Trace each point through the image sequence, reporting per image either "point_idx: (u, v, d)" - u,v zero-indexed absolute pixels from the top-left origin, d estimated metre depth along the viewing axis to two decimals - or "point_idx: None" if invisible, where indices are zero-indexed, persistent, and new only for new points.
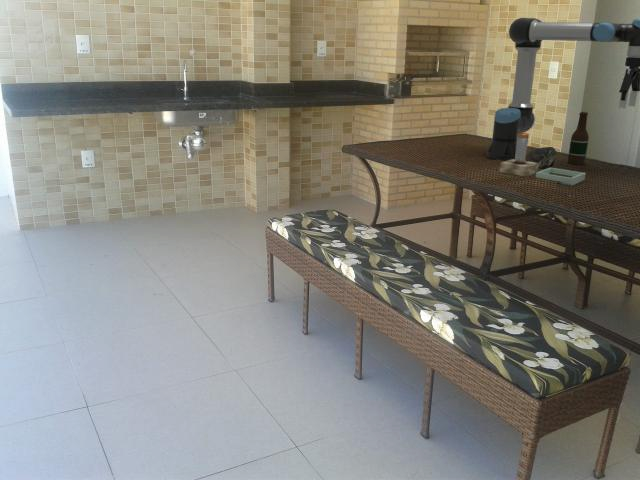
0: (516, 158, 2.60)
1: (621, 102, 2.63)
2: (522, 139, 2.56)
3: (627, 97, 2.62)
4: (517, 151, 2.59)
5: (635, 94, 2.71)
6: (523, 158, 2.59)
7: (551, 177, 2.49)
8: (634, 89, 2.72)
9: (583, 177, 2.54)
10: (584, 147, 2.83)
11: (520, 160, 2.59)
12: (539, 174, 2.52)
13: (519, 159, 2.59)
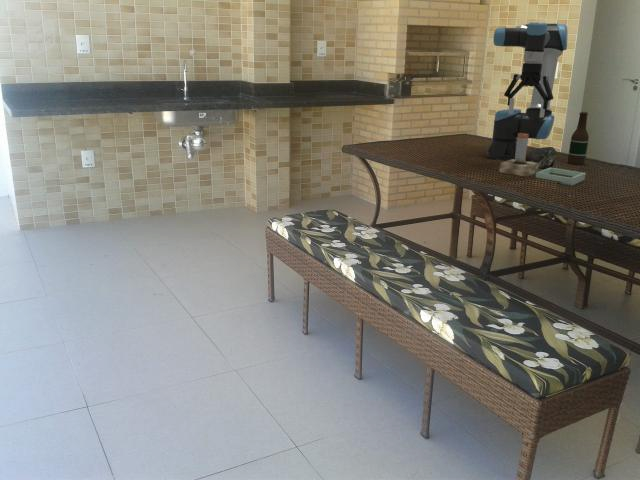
0: (516, 158, 2.60)
1: None
2: (522, 139, 2.56)
3: (510, 102, 2.57)
4: (517, 151, 2.59)
5: None
6: (523, 158, 2.59)
7: (551, 177, 2.49)
8: None
9: (583, 177, 2.54)
10: (584, 147, 2.83)
11: (520, 160, 2.59)
12: (539, 174, 2.52)
13: (519, 159, 2.59)
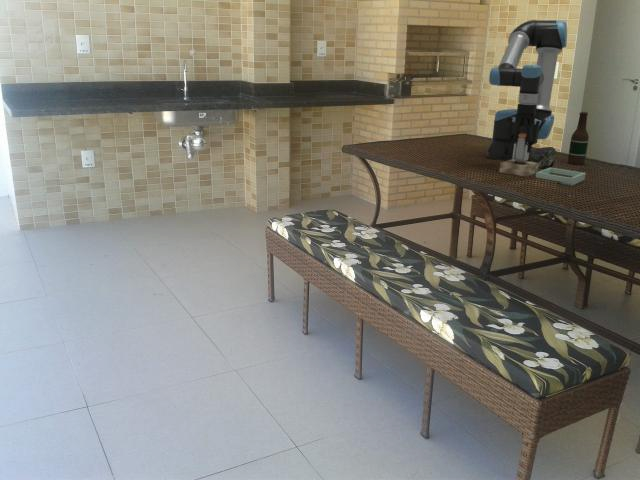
0: (516, 158, 2.60)
1: None
2: (522, 139, 2.56)
3: (514, 147, 2.60)
4: (517, 151, 2.59)
5: None
6: (523, 158, 2.59)
7: (551, 177, 2.49)
8: None
9: (583, 177, 2.54)
10: (584, 147, 2.83)
11: (520, 160, 2.59)
12: (539, 174, 2.52)
13: (519, 159, 2.59)
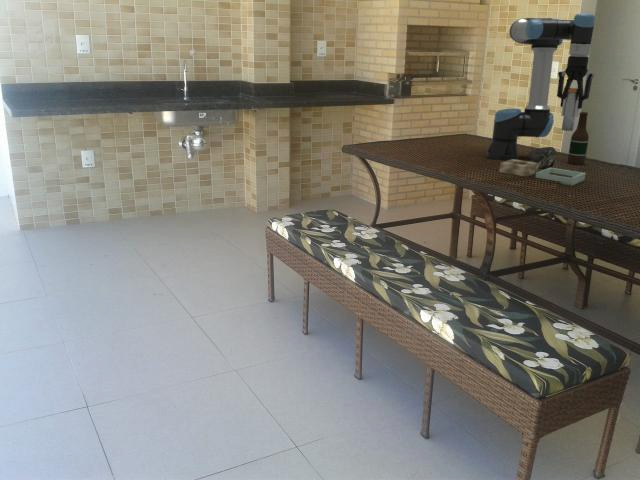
0: (565, 115, 2.45)
1: None
2: (573, 94, 2.41)
3: (563, 104, 2.45)
4: (567, 107, 2.44)
5: None
6: (573, 115, 2.44)
7: (551, 177, 2.49)
8: None
9: (583, 177, 2.54)
10: (584, 147, 2.83)
11: (570, 116, 2.44)
12: (539, 174, 2.52)
13: (568, 115, 2.44)
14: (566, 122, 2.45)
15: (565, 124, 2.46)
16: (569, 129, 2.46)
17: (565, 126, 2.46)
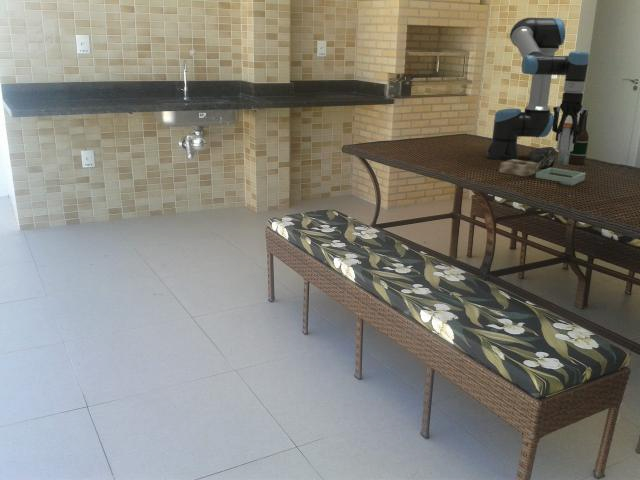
0: (560, 149, 2.49)
1: None
2: (568, 129, 2.46)
3: (559, 138, 2.50)
4: (562, 142, 2.48)
5: None
6: (568, 149, 2.48)
7: (551, 177, 2.49)
8: None
9: (583, 177, 2.54)
10: (584, 147, 2.83)
11: (565, 151, 2.48)
12: (539, 174, 2.52)
13: (563, 150, 2.49)
14: (561, 156, 2.50)
15: (560, 158, 2.50)
16: (564, 163, 2.50)
17: (560, 160, 2.50)
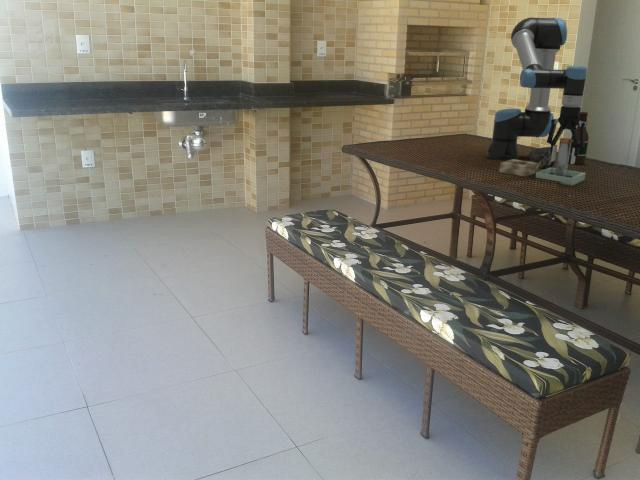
0: (558, 164, 2.51)
1: None
2: (565, 144, 2.47)
3: (553, 150, 2.52)
4: (559, 157, 2.50)
5: None
6: (565, 164, 2.50)
7: (551, 177, 2.49)
8: None
9: (583, 177, 2.54)
10: (584, 147, 2.83)
11: (563, 166, 2.50)
12: (539, 174, 2.52)
13: (561, 165, 2.51)
14: (559, 171, 2.52)
15: (558, 173, 2.52)
16: None
17: (558, 175, 2.52)
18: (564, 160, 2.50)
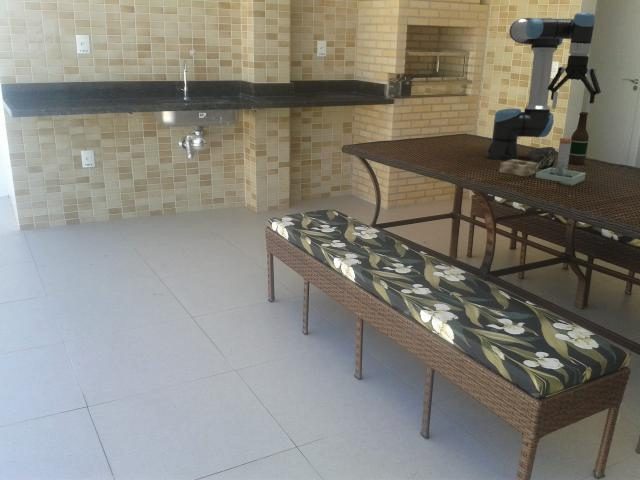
0: (558, 164, 2.52)
1: None
2: (565, 144, 2.48)
3: (554, 97, 2.47)
4: (559, 157, 2.51)
5: None
6: (565, 164, 2.50)
7: (551, 177, 2.49)
8: None
9: (583, 177, 2.54)
10: (584, 147, 2.83)
11: (563, 166, 2.51)
12: (539, 174, 2.52)
13: (561, 165, 2.51)
14: (559, 171, 2.52)
15: (558, 172, 2.52)
16: None
17: (558, 175, 2.52)
18: (564, 160, 2.50)
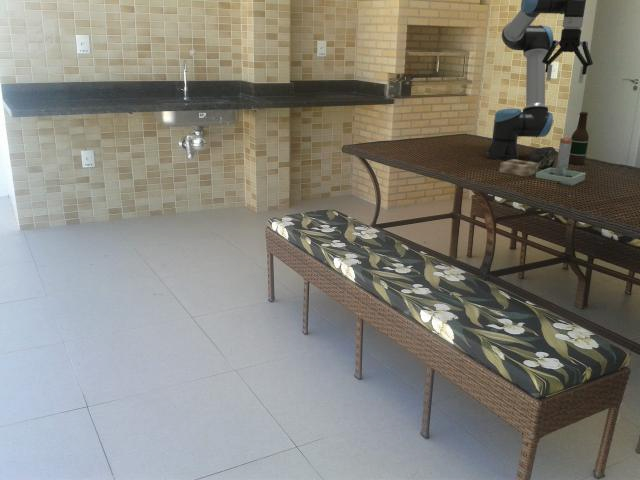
0: (558, 164, 2.52)
1: None
2: (565, 144, 2.48)
3: (548, 69, 2.59)
4: (559, 157, 2.50)
5: None
6: (566, 164, 2.50)
7: (551, 177, 2.49)
8: None
9: (583, 177, 2.54)
10: (584, 147, 2.83)
11: (563, 166, 2.51)
12: (539, 174, 2.52)
13: (561, 165, 2.51)
14: (559, 171, 2.52)
15: (558, 172, 2.52)
16: None
17: (558, 175, 2.52)
18: (564, 160, 2.50)
